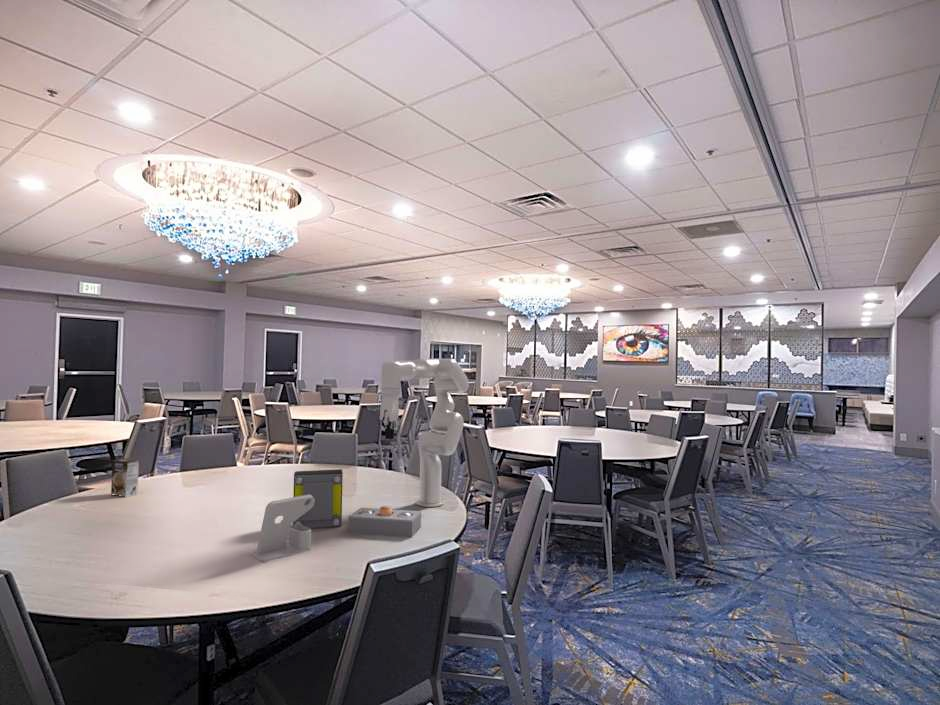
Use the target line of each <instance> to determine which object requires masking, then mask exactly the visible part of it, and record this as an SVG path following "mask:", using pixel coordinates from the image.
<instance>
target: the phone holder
mask: <svg viewBox="0 0 940 705" xmlns="http://www.w3.org/2000/svg"><path fill="white" fill-rule="evenodd" d="M308 499H311V501H310V503H309V504H307V505H304V504H305V502H306V501H307V500H308ZM314 502H315V499H314V498H313V497H312V496H311V495H304V496H298V497H287V498H283V499H278V500H277V499H276V500H273V501H270V502H268V504H266V507H265V510H264V515H263V518H262V524H261V529H260V534H259V538H258V543H257V547H256V550H253V551H251V552H250V556H252V557H253V558H255V559H257V560H259V561H261V562H263V563H268V562H271V561H275V560H278V559H282V558H286V557H290V556H293V555H296V554H300V553H304V552H307V551H311V550H312V549H313V547H312V528H308V527H305V526H303V525H299V524H297V525H293V522H294V521H296V520H297V519H298V518H299V517H301V516H302V515H303V514H305V513H306V512H307V511H308V510H310V509H311V508H312V507H313V506H314ZM278 517H283V518H282V519H281V520H280V522H278V523H276V519H277V518H278Z"/></svg>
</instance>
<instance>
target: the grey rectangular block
mask: <svg viewBox="0 0 940 705" xmlns="http://www.w3.org/2000/svg"><path fill="white" fill-rule="evenodd" d="M366 509H369V510H372V514H371V515H366V514H360V513H361V511H362V510H366ZM401 512H409V513H411V517H399V514H400V513H401ZM421 527H422V511H420V510H406V509H392V515H391V516H381V515H380V508H375V507H373V508H372V507H359V509H357V510H356V511H354V512H352V513H351V514H350V515H349V516H348V533H349V534H362V535H374V536H386V537H387V536H388V537H389V536H390V537H400V538H402V537H403V538H405V537H406V538H413V537H414V536H415V535H416V533H417V532H419V530H420V529H421Z"/></svg>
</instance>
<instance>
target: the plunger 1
mask: <svg viewBox="0 0 940 705" xmlns="http://www.w3.org/2000/svg"><path fill="white" fill-rule="evenodd" d="M360 514H366V515H371V514H372V510H369V509H366V510H362V511H361V513H360Z"/></svg>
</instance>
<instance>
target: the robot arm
mask: <svg viewBox="0 0 940 705" xmlns="http://www.w3.org/2000/svg"><path fill="white" fill-rule="evenodd" d="M380 368H381V373H380V374H381V376H380V378H381V379H380V396H381V399H380V405H379V406H380V409H379V421H380V422H383V424H384V433H385V434H384V436H385V438H384V439H385V440H393V439H395V424H396V421H397V420H398V419H399V413H400V412H399V409H400V408H399V407H400V406H399V403H400V402H399V397H400V396H401V380H404V381H405V380H406V381H407V380H408V381H409V380H412V379H415V380H418V379H419V380H420V379H421V380H422V379H432V378H433V379H434V381H433V386H434V390H435V394H436V405H435V406H434V409H433V412H432V414H431V417H430V420H429V424H428V425H429V428H430V430H431V431H426V432H423V433H421V434H420V435H419V437H418V441H417V445H418V451H419V465H420V466H419V498H418V499H416V500H415V504H416V506H419V507H427V508H432V507H433V508H434V507H441V506H443V505H444V504H445V500H444V499H442V461H441V458H440V457H439V456H451V455H453V454H454V453H455V451H456V449H457V447H458V444H459V441H460V438H461V436H462V434H463V430H464V427H465V426H464V425H465V424H464V423H465V422H464V417H463V415H462V414H461V413H459V412H455V411H454V410H455V406H456V405H455V401H454V399H453V398H452V396H451V394H464V393H466V392H467V391H468V389H469V384H470V383H469V379H468V377H467V375H466V373H465V372H464V370H463V368H462V367H461V365H460V364H459V362H458V361H457V360H455V359H454V358H421V359H409V360H391V361H384V362H382V363H381V367H380Z"/></svg>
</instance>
